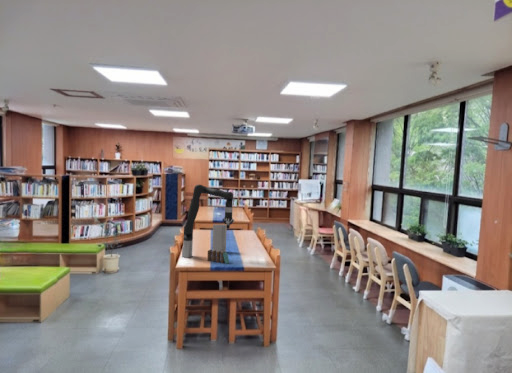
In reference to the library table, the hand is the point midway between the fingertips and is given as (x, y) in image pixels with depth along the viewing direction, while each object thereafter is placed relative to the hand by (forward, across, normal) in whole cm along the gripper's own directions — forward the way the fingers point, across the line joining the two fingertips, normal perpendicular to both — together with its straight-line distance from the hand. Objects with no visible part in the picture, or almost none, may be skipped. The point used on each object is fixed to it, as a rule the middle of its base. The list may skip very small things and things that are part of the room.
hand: (228, 228), depth 315 cm
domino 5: (+31, -8, +14) cm, 35 cm away
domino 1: (+31, +12, +14) cm, 36 cm away
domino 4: (+31, -3, +14) cm, 34 cm away
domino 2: (+31, +7, +14) cm, 35 cm away
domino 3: (+31, +2, +14) cm, 34 cm away
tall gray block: (+31, +18, -16) cm, 39 cm away
